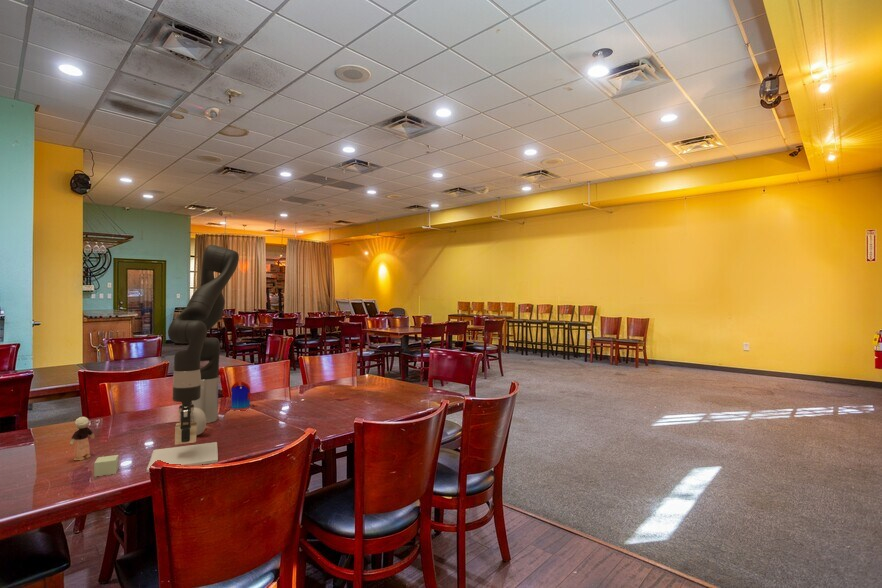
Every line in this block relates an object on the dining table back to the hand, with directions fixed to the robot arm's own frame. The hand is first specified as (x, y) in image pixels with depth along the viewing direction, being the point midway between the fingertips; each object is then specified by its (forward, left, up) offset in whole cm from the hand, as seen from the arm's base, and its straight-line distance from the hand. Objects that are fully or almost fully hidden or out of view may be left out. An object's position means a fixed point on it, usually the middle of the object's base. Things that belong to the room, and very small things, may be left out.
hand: (186, 438), depth 136 cm
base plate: (0, 0, -6) cm, 6 cm away
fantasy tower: (-58, +19, -6) cm, 61 cm away
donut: (-23, +2, -6) cm, 24 cm away
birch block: (0, 0, -1) cm, 1 cm away
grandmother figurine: (-12, -28, -6) cm, 31 cm away
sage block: (+4, -19, -6) cm, 20 cm away
